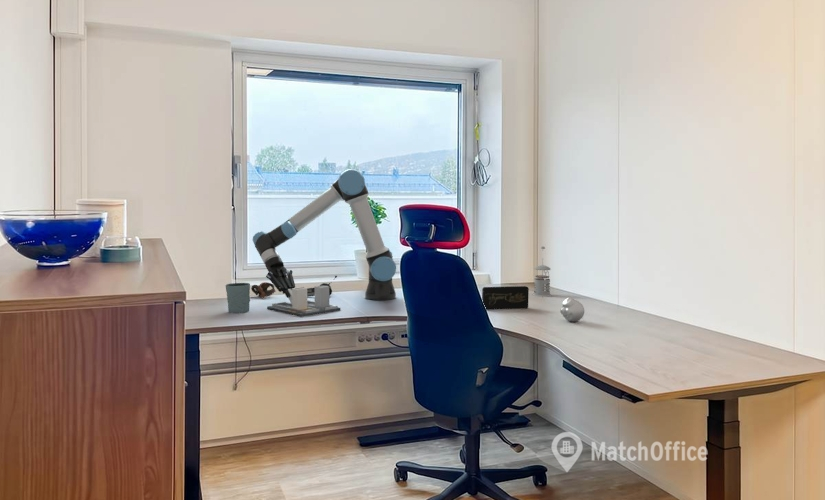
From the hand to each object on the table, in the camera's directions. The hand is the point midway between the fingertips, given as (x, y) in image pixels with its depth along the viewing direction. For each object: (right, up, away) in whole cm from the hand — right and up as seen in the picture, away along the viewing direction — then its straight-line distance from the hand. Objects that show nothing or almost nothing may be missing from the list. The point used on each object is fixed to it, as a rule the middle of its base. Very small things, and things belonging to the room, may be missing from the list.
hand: (294, 302), depth 258 cm
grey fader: (+11, -2, +4) cm, 12 cm away
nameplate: (+93, -4, +9) cm, 93 cm away
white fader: (+3, -3, -2) cm, 4 cm away
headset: (+3, -1, +44) cm, 45 cm away
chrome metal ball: (+115, -6, -19) cm, 117 cm away
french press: (+118, -1, +48) cm, 127 cm away
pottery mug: (-23, -1, +39) cm, 45 cm away
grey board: (+3, -4, +4) cm, 6 cm away
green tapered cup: (-24, -4, 0) cm, 25 cm away
